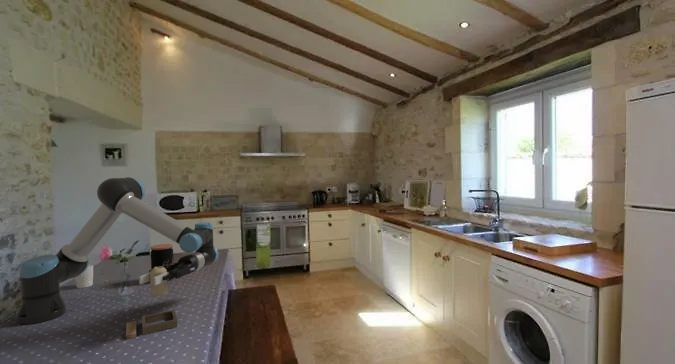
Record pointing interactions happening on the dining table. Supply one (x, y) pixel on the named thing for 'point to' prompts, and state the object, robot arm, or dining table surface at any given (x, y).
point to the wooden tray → (161, 325)
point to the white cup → (85, 278)
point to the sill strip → (131, 329)
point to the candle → (159, 288)
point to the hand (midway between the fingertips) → (147, 280)
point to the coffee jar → (161, 255)
